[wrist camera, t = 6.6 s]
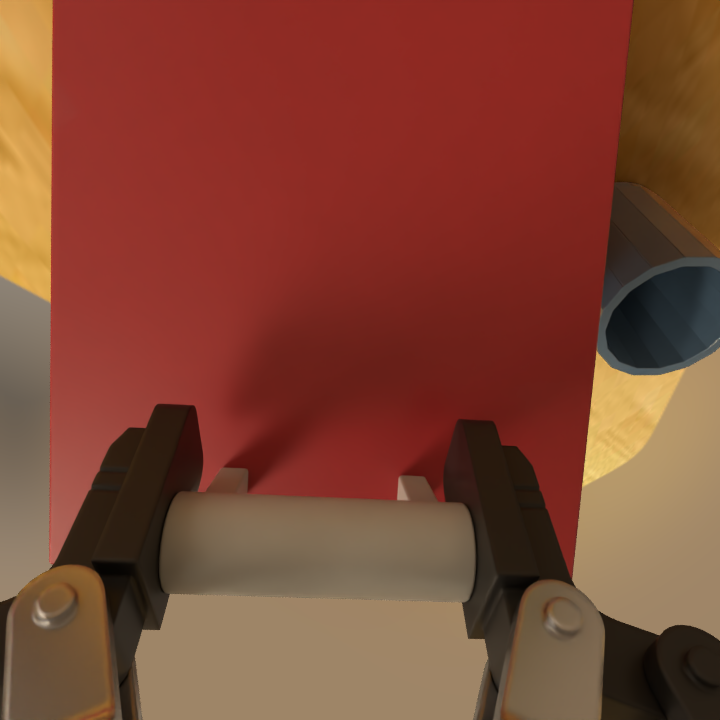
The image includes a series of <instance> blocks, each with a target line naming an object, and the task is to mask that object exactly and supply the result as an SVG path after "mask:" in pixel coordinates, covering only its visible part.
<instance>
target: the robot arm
mask: <svg viewBox="0 0 720 720" xmlns="http://www.w3.org/2000/svg"><path fill="white" fill-rule="evenodd" d="M202 471H203V449H202V443H201V436H200V430H199V423H198V417H197V411H196V407H195V406H194V405H179V404H157V405H156V406H155V407H154V409H153V412H152V414H151V417H150V419H149V421H148V424H147V426H146V428H135V427H129V428H128V429H127V430H126V431H125V432H124V433H123V434H122V435H121V436H119V437H118V438H117V439H116V440H115V441H114V442H113V443H112V444H111V445H110V447H109V449H108V451H107V453H106V455H105V457H104V459H103V461H102V464H101V466H100V471H99V472H97V474H96V476H95V478H94V481H93V483H92V485H91V490H89V491H88V493H87V495H86V498H85V500H84V502H83V504H82V506H81V508H80V510H79V512H78V515H77V517H76V519H75V521H74V523H73V525H72V527H71V529H70V532H69V534H68V536H67V538H66V540H65V542H64V544H63V546H62V549H61V551H60V553H59V555H58V557H57V559H56V561H55V562H54V564H53V565H52V567H51V568H50V570H48V571H46V572H44V573H42V574H40V575H39V576H37V577H36V578H34V579H33V580H32V581H30V582H29V583H28V584H27V585H26V586H25V587H24V588H23V589H22V590H21V591H20V592H19V593H18V595H17V596H15V597H13V598H10V599H8V600H5V601H2V602H0V720H143V719H142V711H141V702H140V694H139V685H138V677H137V669H136V661H135V652H136V649H137V646H138V642H139V639H140V636H141V632H142V629H143V630H160V628H161V624H162V620H163V617H164V613H165V609H166V606H167V602H168V598H169V595H170V594H168V593H165V592H164V591H163V590H162V588H161V584H160V578H159V552H160V543H161V537H162V531H163V527H164V522H165V519H166V515H167V512H168V509H169V507H170V504H171V502H172V500H173V498H174V497H175V495H176V494H177V493H179V492H181V491H189V492H198V489H199V486H200V482H201V477H202ZM443 487H444V495H445V502H456V503H463V504H465V505H466V506H467V508H468V510H469V512H470V515H471V518H472V522H473V526H474V532H475V540H476V576H475V583H474V588H473V592H472V595H471V597H470V599H469V600H468V601H466V602H462V604H463V611H464V616H465V622H466V629H467V634H468V639H485V643H486V648H487V654H488V660H487V662H486V664H485V668H484V672H483V677H482V681H481V686H480V690H479V695H478V699H477V704H476V709H475V713H474V718H473V720H720V641H719V640H718V639H717V638H715V637H714V636H712V635H711V634H709V633H707V632H705V631H703V630H701V629H698V628H695V627H692V626H686V625H675V626H672V627H669V628H667V629H666V630H664V631H663V633H662V634H661V635H660V636H659V635H656V634H654V633H651V632H648V631H645V630H642V629H639V628H637V627H634V626H631V625H628V624H625V623H622V622H620V621H617V620H615V619H612V618H610V617H608V616H606V615H604V614H603V613H601V612H600V611H598V610H597V608H596V607H595V606H594V604H593V603H592V602H591V600H590V599H589V598H588V597H587V596H586V595H585V594H584V593H582V592H581V591H580V590H578V589H577V588H576V587H575V585H574V583H573V581H572V579H571V577H570V574H569V571H568V568H567V565H566V562H565V560H564V557H563V554H562V551H561V548H560V545H559V542H558V539H557V536H556V533H555V530H554V527H553V524H552V521H551V518H550V515H549V512H548V510H547V509H546V507H545V506H546V504H545V501H544V498H543V495H542V492H541V491H540V489H539V488H540V486H539V483H538V480H537V477H536V474H535V471H534V468H533V465H532V464H531V463H530V462H529V460H528V459H527V458H526V457H525V456H524V454H523V453H522V452H521V451H520V450H519V448H518V447H517V446H505V445H501V441H500V438H499V434H498V431H497V428H496V425H495V423H494V422H493V421H489V420H468V419H458V420H457V422H456V425H455V428H454V432H453V436H452V439H451V443H450V447H449V450H448V454H447V457H446V461H445V465H444V473H443Z"/></svg>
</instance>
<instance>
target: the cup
mask: <svg viewBox="0 0 720 720" xmlns="http://www.w3.org/2000/svg"><path fill="white" fill-rule="evenodd" d="M719 347H720V250H719V249H718V248H717V247H716V246H714V245H713V244H712V243H711V242H710V241H709V240H708V239H707V238H706V237H704V236H703V235H702V234H701V233H700V232H699V231H698V230H697V229H695V228H694V227H693V226H692V225H691V224H690V223H689V222H688V221H687V220H685V219H684V218H683V217H682V216H681V215H680V214H679V213H678V212H677V211H675V210H674V209H673V208H672V207H671V206H670V205H669V204H668V203H667V202H665V201H664V200H663V199H662V198H661V197H660V196H659V195H657V194H655V193H653V192H652V191H651V190H650V189H648V188H646V187H645V186H642V185H639V184H636V183H631V182H614V191H613V200H612V210H611V219H610V228H609V238H608V247H607V256H606V266H605V275H604V285H603V294H602V303H601V313H600V322H599V331H598V341H597V352H598V353H599V354H600V356H601V357H602V358H603V359H604V360H605V361H606V362H607V363H608V364H609V365H610V367H612V368H614V369H617V370H620V371H623V372H625V373H628V374H631V375H661V374H665V373H668V372H672V371H675V370H679V369H683V368H686V367H688V366H690V365H692V364H694V363H696V362H697V361H699V360H701V359H703V358H705V357H706V356H708V355H710V354H712V353H713V352H715V351H716V350H717V349H718V348H719Z"/></svg>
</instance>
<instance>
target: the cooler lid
mask: <svg viewBox="0 0 720 720" xmlns="http://www.w3.org/2000/svg"><path fill="white" fill-rule="evenodd" d="M633 3H634V0H53V40H52V202H51V366H50V368H51V369H50V528H49V532H50V533H49V538H50V539H49V562H50V563H51V564H54V562H55V561H56V559H57V557H58V555H59V553H60V551H61V549H62V546H63V544H64V542H65V540H66V538H67V536H68V534H69V532H70V529H71V527H72V525H73V523H74V521H75V519H76V517H77V515H78V512H79V510H80V508H81V506H82V504H83V502H84V500H85V498H86V495H87V493H88V491H89V490H91V485H92V483H93V481H94V478H95V476H96V474H97V472H99V471H100V466H101V464H102V461H103V459H104V457H105V455H106V453H107V451H108V449H109V447H110V445H111V444H112V443H113V442H114V441H115V440H116V439H117V438H118V437H119V436H121V435H122V434H123V433H124V432H125V431H126V430H127V429H128V428H129V427H135V428H146V426H147V424H148V421H149V419H150V417H151V414H152V412H153V409H154V407H155V406H156V405H157V404H179V405H194V406H195V407H196V411H197V417H198V423H199V430H200V436H201V443H202V449H203V471H202V477H201V482H200V486H199V489H198V492H189V491H181V492H179V493H177V494H176V495H175V497H174V498H173V500H172V502H171V504H170V507H169V509H168V512H167V515H166V519H165V522H164V527H163V531H162V537H161V543H160V552H159V578H160V584H161V588H162V590H163V591H164V592H165V593H168V594H195V595H229V596H263V597H264V596H265V597H297V598H298V597H299V598H331V599H332V598H333V599H364V600H399V601H401V600H402V601H433V602H466V601H468V600H469V599H470V597H471V595H472V592H473V588H474V583H475V576H476V540H475V532H474V526H473V522H472V518H471V515H470V512H469V510H468V508H467V506H466V505H465V504H463V503H456V502H445V495H444V487H443V473H444V465H445V461H446V457H447V454H448V450H449V447H450V443H451V439H452V436H453V432H454V428H455V425H456V422H457V420H458V419H468V420H489V421H493V422H494V423H495V425H496V428H497V431H498V434H499V438H500V441H501V445H505V446H517V447H518V448H519V450H520V451H521V452H522V453H523V454H524V456H525V457H526V458H527V459H528V460H529V462H530V463H531V464H532V465H533V468H534V471H535V474H536V477H537V480H538V483H539V486H540V488H539V489H540V491H541V492H542V495H543V498H544V501H545V504H546V506H545V507H546V509H547V510H548V512H549V515H550V518H551V521H552V524H553V527H554V530H555V533H556V536H557V539H558V542H559V545H560V548H561V551H562V554H563V557H564V560H565V562H566V565H567V568H568V571H569V574H570V577H571V579H572V575H573V565H574V557H575V547H576V538H577V537H576V536H577V528H578V519H579V510H580V500H581V491H582V482H583V472H584V463H585V453H586V444H587V435H588V425H589V416H590V407H591V397H592V388H593V378H594V369H595V360H596V350H597V341H598V331H599V322H600V313H601V303H602V294H603V285H604V275H605V266H606V256H607V247H608V238H609V228H610V219H611V210H612V200H613V191H614V181H615V172H616V163H617V153H618V144H619V134H620V125H621V116H622V106H623V97H624V88H625V78H626V69H627V59H628V50H629V41H630V31H631V22H632V13H633Z"/></svg>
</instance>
